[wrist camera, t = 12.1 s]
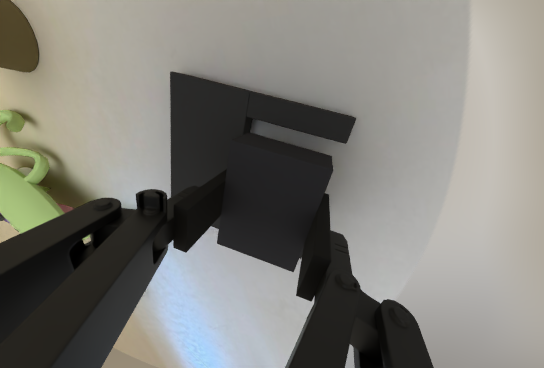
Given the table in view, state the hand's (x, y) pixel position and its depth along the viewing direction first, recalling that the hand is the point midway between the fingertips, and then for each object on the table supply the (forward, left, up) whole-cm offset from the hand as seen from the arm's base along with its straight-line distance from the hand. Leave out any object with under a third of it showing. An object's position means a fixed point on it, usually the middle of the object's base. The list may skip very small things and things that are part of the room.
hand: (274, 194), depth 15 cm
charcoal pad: (0, 0, 0) cm, 0 cm away
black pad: (+4, 0, -3) cm, 5 cm away
